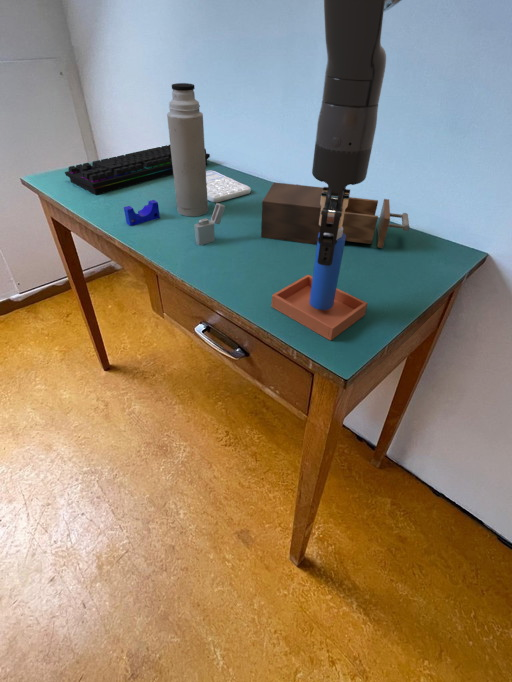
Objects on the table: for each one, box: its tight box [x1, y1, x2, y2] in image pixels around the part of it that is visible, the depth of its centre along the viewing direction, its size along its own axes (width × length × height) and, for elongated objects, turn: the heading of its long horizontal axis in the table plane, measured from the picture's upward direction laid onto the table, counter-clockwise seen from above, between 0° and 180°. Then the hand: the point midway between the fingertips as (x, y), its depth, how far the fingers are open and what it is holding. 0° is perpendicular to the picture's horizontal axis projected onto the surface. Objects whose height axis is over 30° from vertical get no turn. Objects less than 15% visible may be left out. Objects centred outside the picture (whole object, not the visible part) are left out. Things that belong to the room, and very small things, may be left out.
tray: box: [271, 274, 369, 342], centre depth 70 cm, size 13×10×3 cm
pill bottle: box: [309, 227, 346, 310], centre depth 65 cm, size 4×4×14 cm
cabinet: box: [260, 182, 323, 246], centre depth 93 cm, size 15×13×9 cm
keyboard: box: [64, 144, 211, 196], centre depth 124 cm, size 42×16×5 cm, turn 137°
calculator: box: [206, 170, 252, 204], centre depth 115 cm, size 13×20×2 cm, turn 40°
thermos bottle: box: [166, 82, 209, 217], centre depth 94 cm, size 8×8×28 cm
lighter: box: [194, 202, 226, 246], centre depth 88 cm, size 7×2×8 cm, turn 125°
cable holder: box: [123, 199, 161, 227], centre depth 97 cm, size 8×4×4 cm, turn 130°
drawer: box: [342, 196, 410, 249], centre depth 91 cm, size 18×11×7 cm, turn 76°
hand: (326, 256), depth 64 cm, fingers closed on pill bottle, 4 cm apart
